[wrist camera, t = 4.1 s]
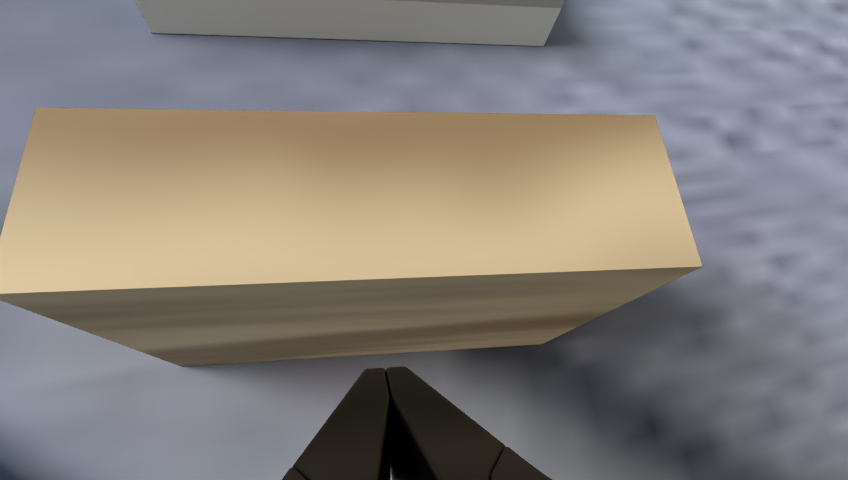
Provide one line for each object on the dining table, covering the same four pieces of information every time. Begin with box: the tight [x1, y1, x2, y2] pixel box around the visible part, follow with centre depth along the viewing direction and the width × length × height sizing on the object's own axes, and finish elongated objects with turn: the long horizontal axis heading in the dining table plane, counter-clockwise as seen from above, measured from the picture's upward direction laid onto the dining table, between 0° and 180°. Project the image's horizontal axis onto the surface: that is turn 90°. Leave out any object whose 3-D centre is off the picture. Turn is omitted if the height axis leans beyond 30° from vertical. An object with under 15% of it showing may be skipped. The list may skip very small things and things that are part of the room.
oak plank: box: [0, 108, 702, 367], centre depth 15 cm, size 4×14×10 cm, turn 95°
